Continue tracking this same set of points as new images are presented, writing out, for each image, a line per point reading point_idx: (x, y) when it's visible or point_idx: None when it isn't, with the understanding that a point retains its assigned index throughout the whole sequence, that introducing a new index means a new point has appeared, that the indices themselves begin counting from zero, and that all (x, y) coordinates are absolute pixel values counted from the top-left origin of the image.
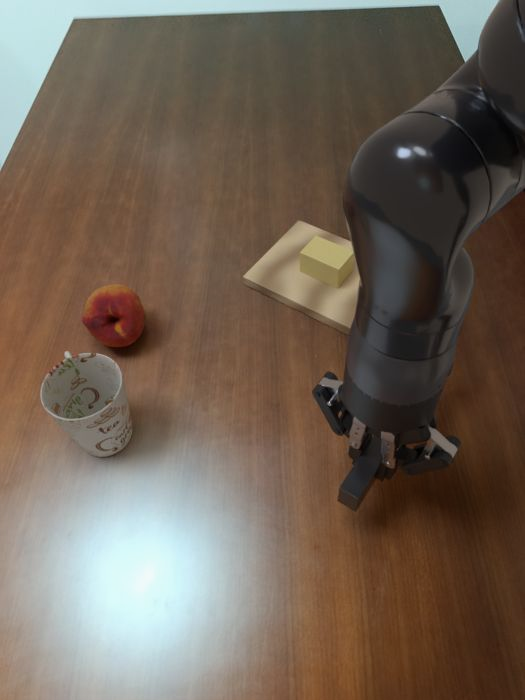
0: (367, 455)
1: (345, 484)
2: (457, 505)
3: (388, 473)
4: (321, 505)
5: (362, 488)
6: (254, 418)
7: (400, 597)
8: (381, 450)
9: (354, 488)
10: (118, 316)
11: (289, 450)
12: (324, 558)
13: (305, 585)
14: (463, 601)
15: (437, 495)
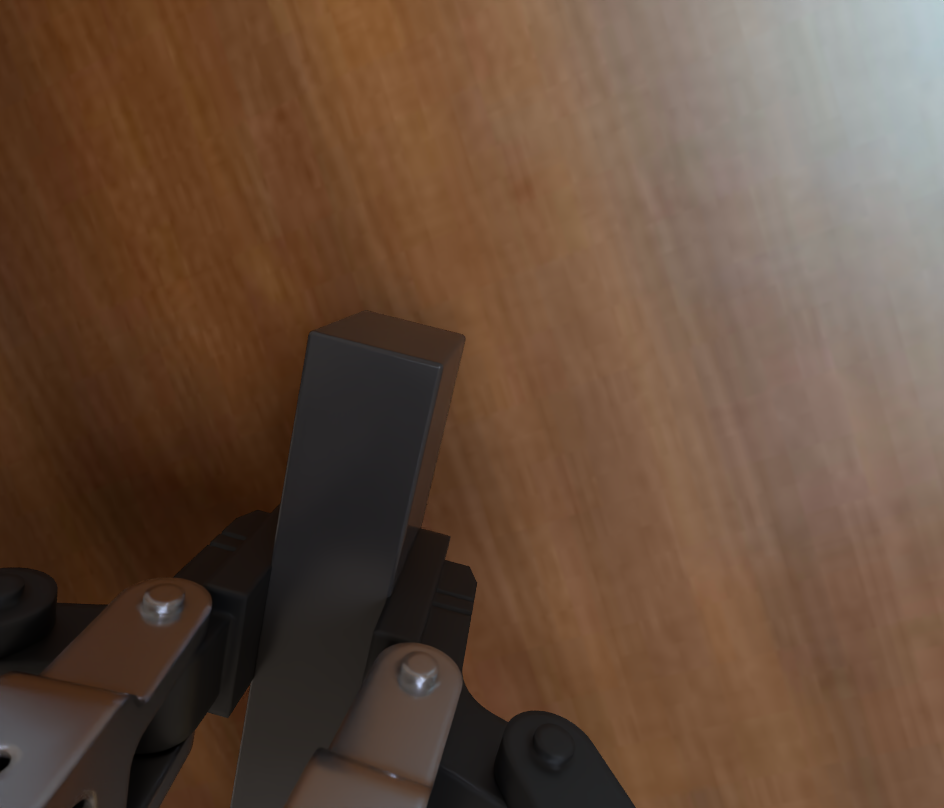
0: (350, 611)
1: (413, 400)
2: (130, 499)
3: (239, 541)
4: (552, 353)
5: (310, 408)
6: (908, 609)
7: (189, 123)
8: (86, 737)
9: (353, 392)
10: None
11: (732, 523)
12: (481, 157)
13: (519, 20)
14: (9, 193)
15: (195, 513)
